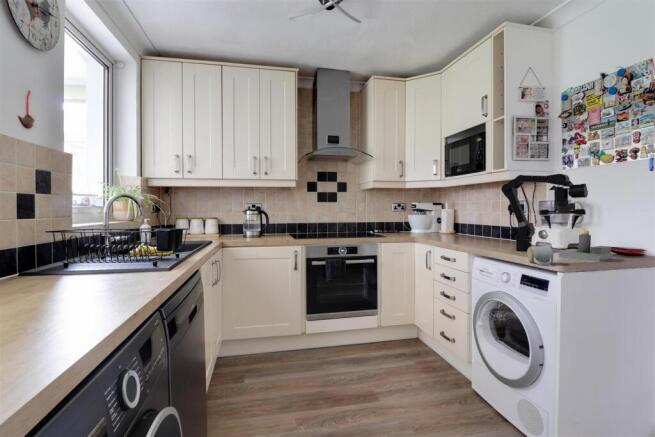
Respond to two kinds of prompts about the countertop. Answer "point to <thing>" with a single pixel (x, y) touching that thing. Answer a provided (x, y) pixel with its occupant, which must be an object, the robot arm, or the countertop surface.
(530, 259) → the ceramic mug
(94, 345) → the countertop surface
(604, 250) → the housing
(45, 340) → the countertop surface
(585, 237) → the plug
